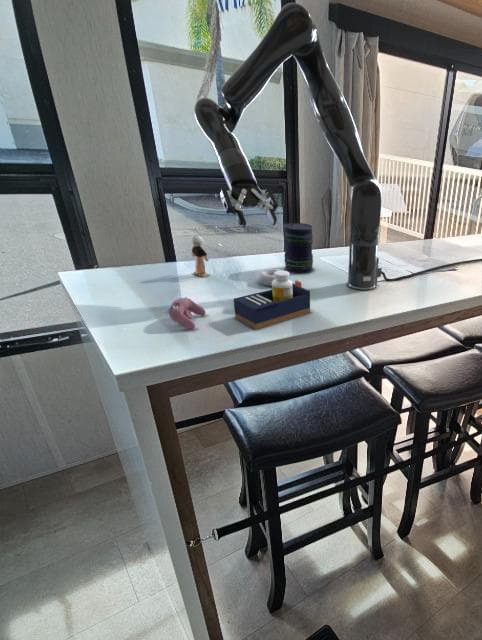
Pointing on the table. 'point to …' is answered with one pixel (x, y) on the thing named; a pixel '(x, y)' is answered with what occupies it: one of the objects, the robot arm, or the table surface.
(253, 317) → the navy storage tray
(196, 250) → the grandmother figurine
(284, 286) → the supplement bottle
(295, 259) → the storage jar
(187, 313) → the video game controller
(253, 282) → the table surface
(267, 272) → the donut
